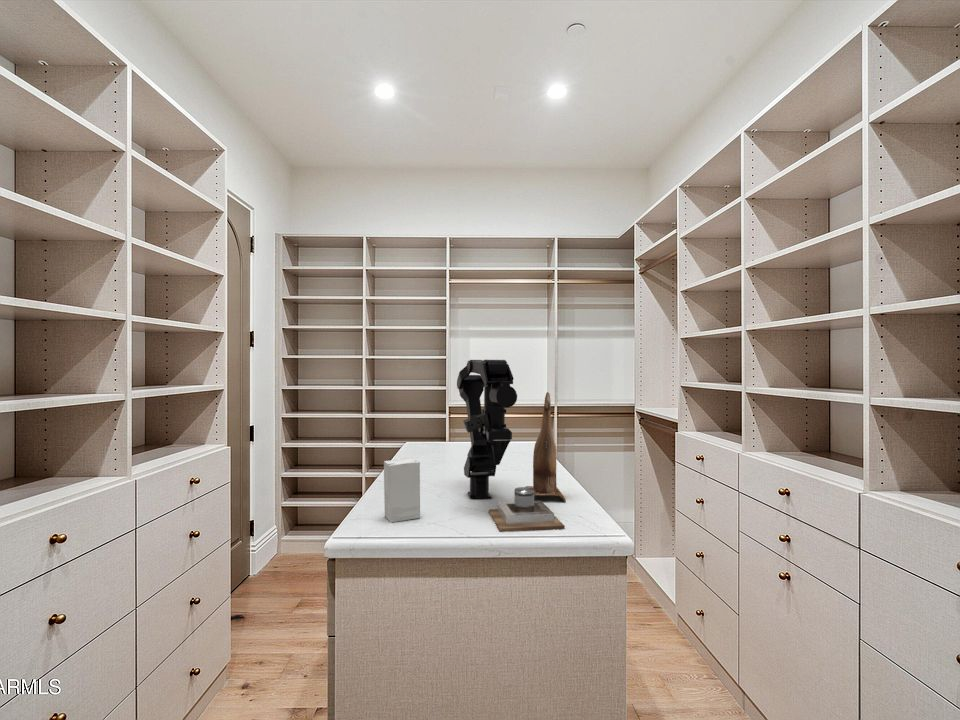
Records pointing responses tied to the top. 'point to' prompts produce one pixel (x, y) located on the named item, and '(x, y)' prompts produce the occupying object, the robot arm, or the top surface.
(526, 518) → the grey square tray
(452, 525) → the top surface
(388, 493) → the skincare box
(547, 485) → the bird sculpture
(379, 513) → the top surface
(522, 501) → the cylinder
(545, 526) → the walnut board
